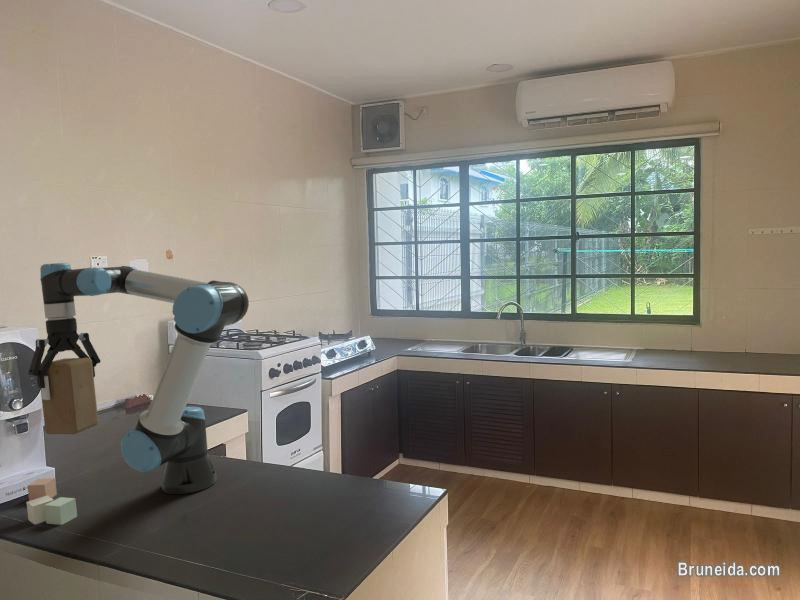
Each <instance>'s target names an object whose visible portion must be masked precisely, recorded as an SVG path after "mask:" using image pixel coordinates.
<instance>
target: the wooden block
mask: <svg viewBox="0 0 800 600" xmlns="http://www.w3.org/2000/svg"><path fill="white" fill-rule="evenodd" d="M44 376H48V382H49V391H50V400H44V399H42V391H41V390H40V397H41V403H42V411H43V412H42V413H43V421H44V430H45V431H44V432H45V434H47V435H76V434H78V433H81V432H84V431H86V430H88V429H91V428H94V427H95V426H97V425H98V424H99V417H98V405H97V404H98V403H97V397H96V387H95V377H94V376H93V366H92V360H91V359H90V357H89V358H79V357H71V358H70V357H69V358H67V357H66V358H61V359H56V360H53V361H52V363H51V365H50V366H49V368H48V370H47V372H46V373H45V375H44Z"/></svg>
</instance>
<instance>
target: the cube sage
mask: <svg viewBox="0 0 800 600" xmlns="http://www.w3.org/2000/svg"><path fill="white" fill-rule="evenodd" d="M76 502H77V500H76V498H75V497H62V496H59V497H58V498H55V499H54V501H52V502H50V503H48V504H46V505H45V514H46V521H45V522H46V524H49V525H58V526H59V525H60V526H61V525H64V524H66V523H68V522H70V521H72V520H74V519H75V518H77V517H78V510H77V503H76Z"/></svg>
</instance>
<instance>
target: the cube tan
mask: <svg viewBox="0 0 800 600" xmlns="http://www.w3.org/2000/svg"><path fill="white" fill-rule="evenodd" d="M27 493H28V501H31V500H34V499H37V498H41V497H44V496H49V497H50V498H52V499H53V498H54V497H55V496H57V495H58V491H57V483H56V478H55V477H51V478H50V477H47V478H37V479H36V480H34V481H33V482H31V483H29V484H27Z"/></svg>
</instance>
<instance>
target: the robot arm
mask: <svg viewBox="0 0 800 600" xmlns="http://www.w3.org/2000/svg"><path fill="white" fill-rule="evenodd" d="M39 280H40V285H41V291H42V299H43V309H44V318H45V319H47V320H45V327H46V335H47V338H42V339H40V338H37V339H36V340H35V350H34V353H33V356H32V359H31V363H30V366H29V369H28V373H27V374H28V375H29V376H33V377H36V382H37V387H38V389H40V392H41V391H42V397H41V400H42V399H44V400H50V391H49V382H48V376H44V375H45V373H46V372H47V370H48V368H49V366H50V365H51V363H52V361H54V359H55V358H56V356H57V355H58V354H59V353H62V352H66V351H68V352H69V351H72V352H73V353H74V354H75V355H76V356H77V358H90V359H91V360H92V366H93V376H94V378H95V377H96V371H95V368H96V366H97V364H100V363H101V358H100V357H99V355H98V353H97V351H96V350H95V348H94V345H93V344H92V342H91V341H90V334H89V333H88V332H80V333H78V323H77V318H76V317H75V316H76V305H75V298H74V297H88V296H89V297H94V296H95V297H96V296H100V295H105V294H108V295H109V294H116V293H117V294H120V293H121V294H125V295H130V296H131V295H132V296H135V297H136V296H137V297H141V298H146V299H151V300H155V301H160V302H161V301H162V302H166V303H170V304H172V305H173V306H172V315H173V316H174V317H173V321H174V323H175V324H174V326H173V327H174V329H175V332H176V333H177V336H176V337H175V340H174V344H173V346H172V349H171V351H170V353H169V356H168V359H167V362H166V364H165V366H164V370H163V372H162V374H161V376H160V379H159V381H158V385H157V387H156V390H155V391H154V392H155V393H154V396H153V398H152V400H151V403H150V405H149V408H148V409H146V410H143V412H141V414H140V415H139V417H138V420H137V422H136V424H135V427H134V429H131V430H129V431H127V432H126V433H125V434H124V435H123V437H122V438H121V441H120V452H121V455H122V456H123V459H124V462H126V463H127V465H128V466H129V467H131V468H132V469H134V470H135V471H138V472H141V473H142V472H143V473H145V472H146V473H147V472H149V471H152V470H156V469H158V468H159V467H160V466H162V465H164V464H165V466H164V467H165V468H164V472H163V475H162V480H161V489H162V491H163V492H164V493H165V494H168V495H169V494H170V495H185V494H192V493H196V492H201V491H203V490H205V489H208V488H210V487H211V486H213V485H214V484H215V483H216V482H217V472H216V470H215V468H214V466H213V464H212V461H211V458H210V456H209V453H208V452H209V451H208V442H207V441H208V440H207V427H206V420H207V419H206V418H205V410H204V409H203V408H202V407H200V406H187V404H188V402H189V399H190V397H191V396H192V395H191V394H192V392H193V390H194V387H195V384H196V382H197V380H198V377H199V375H200V372H201V370H202V367H203V365H204V362H205V360H206V357H207V355H208V352H209V350H210V347H211V345H214V344H215V345H216V344H217V343H218V342H219V341H220V338H221V336H222V333H223V331H224V329H225V327H226V326H231V325H234V324H236V323H238V322H240V321H241V320H242V319H243V318H244V317H245V316H246V314H247V312H248V309H249V301H250V300H249V296H248V294H247V293H246V291H245V289H244V288H243V287H242V286H240V285H239V284H237V283H235V282H232V281H231V282H230V281H219V280H214V279H213V280H210V281H208V282H204V281H198V280H195V279H187V278H183V277H178V276H173V275H166V274H162V273H156V272H151V271H145V270H141V269H138V268H136V267H135V266H127V265H126V266H125V265H121V266H110V267H107V266H106V267H96V266H95V267H86V268H76V269H75V268H74V269H72V268H71V264H70V263H69V262H61V263H60V262H57V263H45V264H42V265H41V266H40V279H39ZM78 341H80V343H81V344H82V346H83V348H84V349H85V351H84V350H83V349H82V347H81V346H80V345H79V344H78V343H77V342H78ZM48 345H49V347H48V349H47V352H46V354H44V353H45V351H46V350H45V349H46V347H47V346H48ZM44 355H45V356H44ZM43 357H44V358H43Z"/></svg>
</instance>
